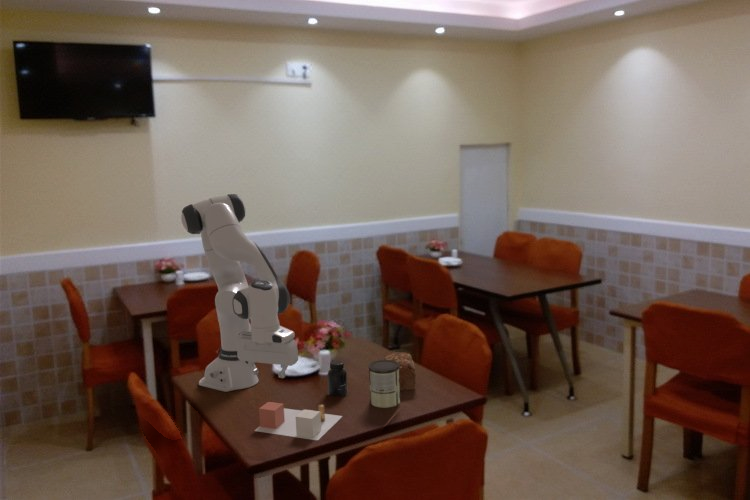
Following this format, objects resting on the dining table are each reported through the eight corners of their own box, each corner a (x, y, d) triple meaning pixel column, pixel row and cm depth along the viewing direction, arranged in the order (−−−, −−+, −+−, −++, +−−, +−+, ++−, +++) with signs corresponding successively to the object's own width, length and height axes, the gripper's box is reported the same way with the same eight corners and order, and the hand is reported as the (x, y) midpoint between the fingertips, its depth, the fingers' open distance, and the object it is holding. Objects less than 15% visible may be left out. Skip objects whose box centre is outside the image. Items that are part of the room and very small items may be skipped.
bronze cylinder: (317, 421, 208) (316, 406, 207) (320, 418, 210) (319, 404, 209) (323, 422, 207) (322, 407, 206) (326, 419, 209) (325, 404, 208)
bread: (416, 391, 233) (415, 364, 231) (386, 392, 232) (385, 365, 231) (411, 372, 251) (411, 347, 249) (384, 374, 251) (383, 349, 249)
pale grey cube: (296, 435, 199) (295, 416, 198) (305, 427, 204) (304, 409, 203) (313, 437, 196) (312, 418, 195) (321, 429, 202) (320, 411, 201)
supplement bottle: (345, 399, 227) (343, 366, 225) (326, 398, 229) (324, 365, 227) (349, 391, 234) (348, 359, 232) (331, 390, 235) (329, 359, 233)
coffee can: (365, 401, 225) (364, 362, 222) (393, 396, 228) (392, 357, 226) (376, 412, 215) (375, 372, 213) (405, 407, 219) (404, 367, 216)
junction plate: (254, 433, 203) (254, 430, 203) (283, 410, 219) (283, 408, 219) (317, 443, 195) (317, 440, 195) (342, 419, 211) (342, 416, 211)
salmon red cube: (260, 426, 206) (259, 408, 204) (269, 419, 211) (268, 401, 210) (275, 428, 203) (274, 410, 202) (284, 421, 209) (283, 403, 208)
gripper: (231, 333, 203) (234, 376, 205) (289, 338, 195) (292, 382, 198) (242, 328, 209) (246, 369, 211) (299, 332, 201) (302, 375, 203)
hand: (268, 375), depth 204 cm, fingers open, 8 cm apart
